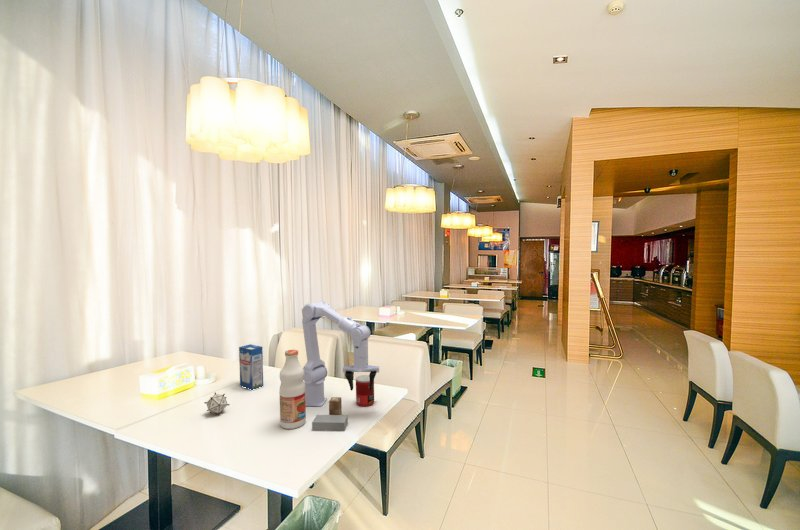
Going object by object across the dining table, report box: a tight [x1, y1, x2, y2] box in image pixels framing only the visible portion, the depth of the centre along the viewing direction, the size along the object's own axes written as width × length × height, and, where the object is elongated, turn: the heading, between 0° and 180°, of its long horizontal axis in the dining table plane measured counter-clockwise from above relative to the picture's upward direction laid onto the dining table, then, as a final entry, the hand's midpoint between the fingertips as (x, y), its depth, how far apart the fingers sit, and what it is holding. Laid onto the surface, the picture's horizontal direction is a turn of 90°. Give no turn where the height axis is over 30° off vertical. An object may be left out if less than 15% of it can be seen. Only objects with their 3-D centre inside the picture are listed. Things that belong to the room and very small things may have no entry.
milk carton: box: [238, 344, 264, 391], centre depth 170 cm, size 10×6×20 cm, turn 58°
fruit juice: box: [279, 349, 307, 430], centre depth 131 cm, size 9×9×28 cm
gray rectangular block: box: [311, 414, 349, 432], centre depth 128 cm, size 12×6×3 cm, turn 87°
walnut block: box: [328, 396, 343, 415], centre depth 136 cm, size 4×4×7 cm
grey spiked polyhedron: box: [204, 392, 231, 416], centre depth 141 cm, size 9×8×10 cm
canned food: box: [355, 374, 375, 408], centre depth 148 cm, size 8×8×11 cm
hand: (361, 389), depth 137 cm, fingers open, 7 cm apart
